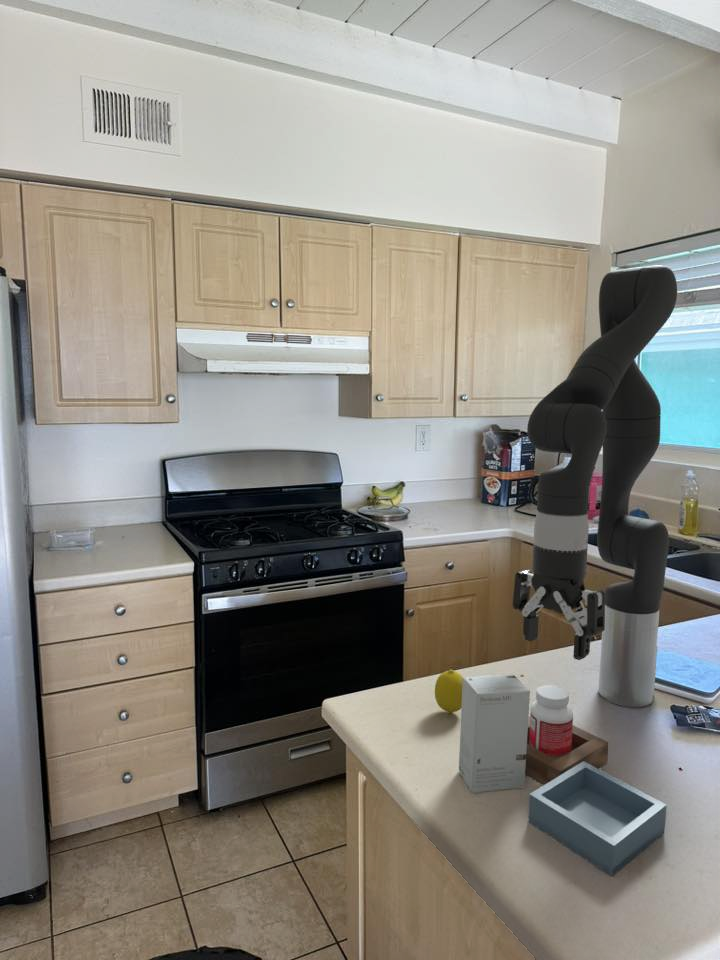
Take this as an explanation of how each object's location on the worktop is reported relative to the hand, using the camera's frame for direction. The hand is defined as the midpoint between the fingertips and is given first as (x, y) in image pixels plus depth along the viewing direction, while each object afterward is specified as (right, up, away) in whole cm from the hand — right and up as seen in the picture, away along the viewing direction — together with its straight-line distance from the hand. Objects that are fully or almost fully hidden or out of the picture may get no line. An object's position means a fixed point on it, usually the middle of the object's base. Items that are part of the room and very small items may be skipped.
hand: (554, 648), depth 97 cm
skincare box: (-10, -19, -2) cm, 21 cm away
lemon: (-13, -16, +16) cm, 26 cm away
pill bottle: (0, -18, +3) cm, 18 cm away
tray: (+2, -20, -12) cm, 23 cm away
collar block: (0, -18, +3) cm, 18 cm away
